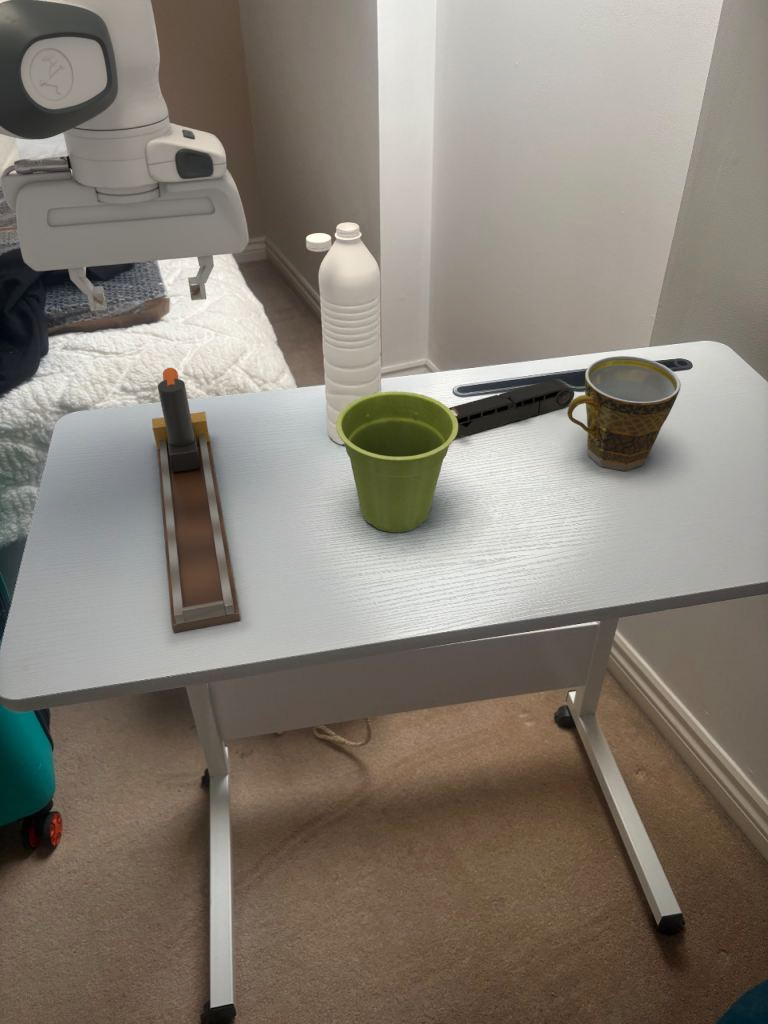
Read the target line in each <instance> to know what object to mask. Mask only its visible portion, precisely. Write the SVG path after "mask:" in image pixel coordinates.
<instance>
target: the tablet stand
mask: <svg viewBox="0 0 768 1024" xmlns="http://www.w3.org/2000/svg"><path fill="white" fill-rule="evenodd" d="M574 399H575V390H574V389H573V388H572V387H571V386H570V385H568V384H567V383H566V382H565V381H563V380H562V379H560V378H553V379H551V380H546V381H542V382H537V383H534V384H530V385H528V386H524V387H520V388H515V389H512V390H508V391H505V392H502V393H500V394H494V395H491V396H487V397H483V398H480V399H476V400H472V401H469V402H464V403H461V404H458V405H454V406H450V407H448V408H449V409H450V410H451V411H452V412H453V413H454V415H455V417H456V418H457V421H458V432H457V435H456V438H455V439H458V438H461V437H465V436H468V435H472V434H476V433H479V432H483V431H486V430H489V429H493V428H496V427H500V426H503V425H507V424H509V423H510V424H511V423H513V422H517V421H521V420H524V419H527V418H535V417H537V416H540V415H544V414H548V413H551V412H554V411H558V410H562V409H565V408H566V407H569V406H570V404H571V402H572V401H573V400H574Z"/></svg>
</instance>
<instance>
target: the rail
mask: <svg viewBox="0 0 768 1024" xmlns="http://www.w3.org/2000/svg"><path fill="white" fill-rule="evenodd" d="M198 437H199V444H197V448H198V454H199V461H200V468H199V469H192V470H186V471H179V472H173V470H172V465H171V460H170V456H169V448H168V446H167V441H166V440H161V441H159V446H160V449H157V448H156V449H157V460H158V474H159V486H160V497H161V498H160V499H161V510H162V511H161V512H162V521H163V534H164V546H165V557H166V558H165V559H166V570H167V572H166V573H167V582H168V583H167V585H168V596H169V606H170V620H171V627H172V632H173V633H174V634H175V633H181V632H187V631H191V630H196V629H197V630H198V629H201V628H207V627H212V626H219V625H223V624H229V623H233V622H238V621H239V622H240V621H241V615H240V610H239V605H238V598H237V592H236V587H235V582H234V581H235V579H234V575H233V569H232V561H231V558H230V551H229V550H230V549H229V545H228V540H227V534H226V527H225V522H224V516H223V511H222V503H221V497H220V492H219V485H218V479H217V474H216V469H215V462H214V457H213V450H212V445H211V441H210V442H206V436H205V434H203V435H198Z"/></svg>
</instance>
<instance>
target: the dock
mask: <svg viewBox="0 0 768 1024" xmlns="http://www.w3.org/2000/svg"><path fill="white" fill-rule="evenodd" d="M190 415H191V421H192V426H193V427H194V430H195V436H196V441H197V444H199V437H198V435H203V434H205V436H206V442H210V443H211V438H210V433H209V427H208V422H207V421H208V420H207V415H206V412H205V411H197V412H190ZM151 425H152V426H151V427H152V432H153V436H154V437H153V438H154V441H155V445H156V449H160V446H159V441H161V440H166V441H167V446H168V436H167V430H166V425H165V420H164V416H163V417H154V418H151ZM168 448H169V446H168Z"/></svg>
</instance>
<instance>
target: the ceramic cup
mask: <svg viewBox="0 0 768 1024" xmlns="http://www.w3.org/2000/svg"><path fill="white" fill-rule="evenodd" d="M681 385H682V384H681V380H680V378H679V377H678V375H677V374H676V373H675V372H674V371H673V370H672V369H670V368H669V367H667V366H666V365H664V364H662V363H659V362H657V361H655V360H651V359H648V358H644V357H640V356H639V357H638V356H632V355H631V356H630V355H615V356H609V357H604V358H601V359H598V360H596V361H594V362H592V363H591V364H589V365H588V367H587V368H586V370H585V374H584V394H581V395H579V396H576V397H574V398H573V400H572V402H571V403H570V404H569V405H568V408H567V413H566V414H567V417H568V419H569V420H570V421H571V422H572V423H573V424H574V425H575V424H576V425H577V426H579V427H581V429H583V430H584V431H585V432H586V433H587V449H586V450H587V451H586V453H587V456H588V457H589V458H590V459H591V460H592V461H593V462H595V463H596V464H597V466H599V467H601V468H605V469H612V470H617V471H621V472H626V471H629V470H633V469H635V468H638V467H642V466H643V465H644V464H645V463H646V460H647V459H648V457H649V455H650V453H651V451H652V448H653V446H654V444H655V442H656V440H657V437H658V436H659V433H660V431H661V430H662V427H663V425H664V424H665V422H666V421H667V419H668V417H669V415H670V413H671V411H672V409H673V407H674V405H675V403H676V400H677V398H678V396H679V393H680V391H681V387H682V386H681ZM584 404H585V411H586V425H585V423H583V422H582V421H580V420H578V419H576V418H574V417H573V413H574V411H575V409H576V408H577V407H578V406H581V405H584Z"/></svg>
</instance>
